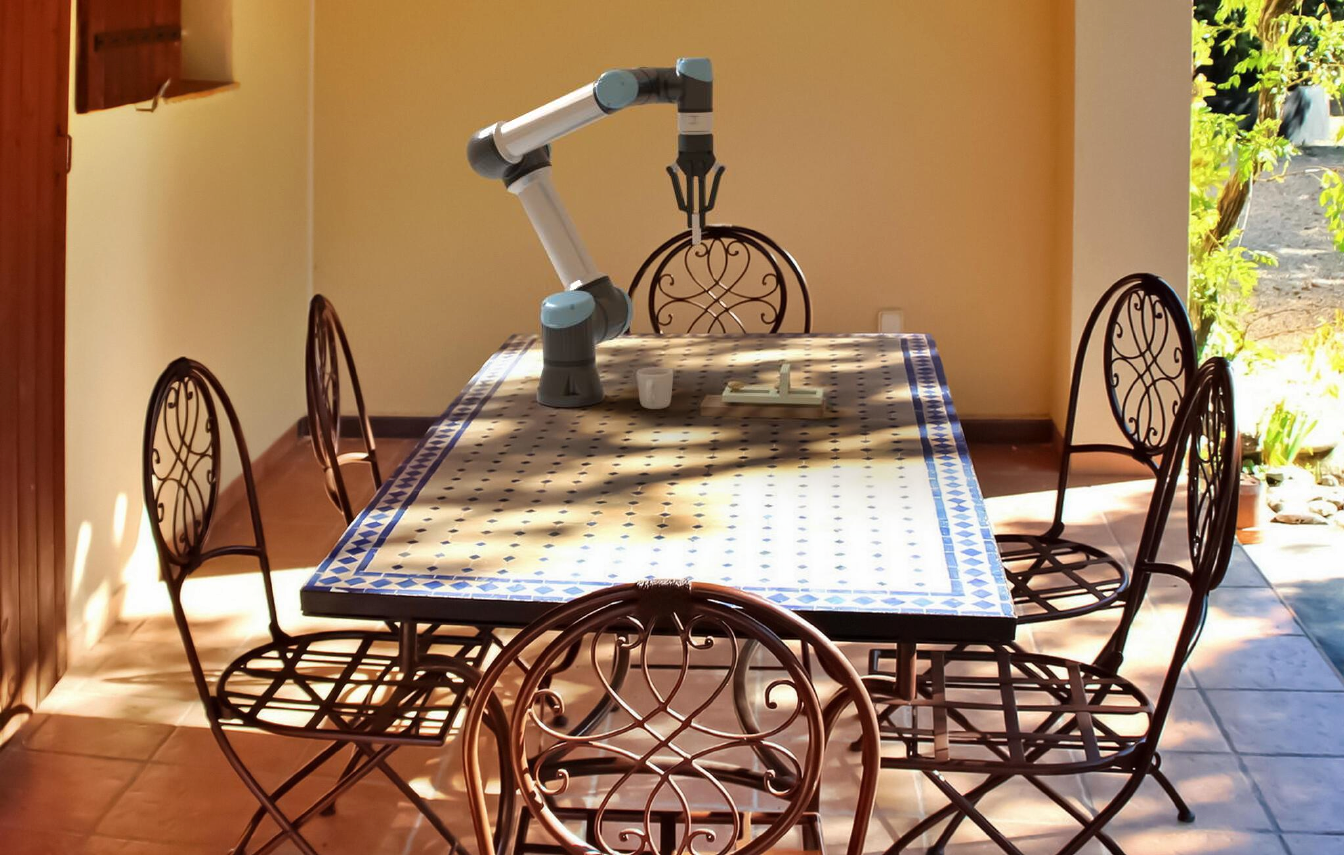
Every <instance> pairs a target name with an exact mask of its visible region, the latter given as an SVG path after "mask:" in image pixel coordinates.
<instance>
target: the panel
mask: <svg viewBox="0 0 1344 855" xmlns="http://www.w3.org/2000/svg"><path fill="white" fill-rule="evenodd" d="M778 378H779V382H778V383H779V390H778V389H775V388H774V386H744V387H743V388H740V393H734V392H732V388H728V385H726V386H725V388H724V390H723V392H722V394H721V395H722V402H756V403H795V404H821V403H822V399H823V398H824V393H825V392H824V391H825V390H824V388H822V387H821V388H820V387H817V388H815V387H814V388H813V387H790V389H788V383H790V384H791V364H790V363H782V366H781V368H780V370H779V377H778Z"/></svg>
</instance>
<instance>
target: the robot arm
mask: <svg viewBox="0 0 1344 855" xmlns="http://www.w3.org/2000/svg"><path fill="white" fill-rule="evenodd" d="M713 75H714V74H713V62H712V60H711V59H710V58H708V57H681V58H680V57H679V58H678V59H677V60H676V65H675V66H674V67H659V66H658V67H656V66H655V67H653V66H652V67H648V66H639V67H631V68H625V69H623V68H616V69H612V70H608V71H606V72H604V73H602V74H601V75H600V77H599V78H598V79H597V80H595V81H592V82H590V83H587V84H586V85H584V86H583V87H580V88H577V89H576V90H574V91H572V92H569V93H567V94H566V95H563V96H560V97H559V98H557V99H554V100H552V101H550V102H549V103H547V104H544V105H541V106H539V107H537V108H536V109H534V110H531V111H529V112H527V113H525V114H523V115H521V116H518V117H517V118H515V119H513V120H511V121H509V122H507V121H505V120H500V121H497V122H495V123H493V124H491V125H488V126H486V127H482V128H480V129H478V130H477V131H475V132H474V133H473V134H472V135H471V137H470V139H469V140H468V143H467V144H466V145H467V146H466V158H467V161H468V164H469V167H471V169H472V170H473V171H474V172H475V173H476V174H477V175H479V176H480V177H481V178H483V179H484V178H485V179H488V180H500V179H501V181H502V182H503V184H504V187H505V188H506V191H507V192H508V193H511V194H513V195H516V196H517V197H518V200H519V202H520V203H521V205H522V207H523V210H524V211H525V212H526V215H527V217H528V219H529V221H530V223H531V225H532V226H533V229H534V230H535V232H536V234H537V236H538V238H539V241H540V242H541V243H542V245H543V248H544V251H545V252H546V255H547V256H548V257H549V259H550V262H551V264H552V265H553V267H554V270H555V272H556V274H557V275H558V277H559V279H560V282H561V283H562V285H563V287H564V291H563V292H557V293H554V294H551V295H549V296H547V297H546V298H544V300H543V301H542V303H541V314H540V321H541V339H542V359H543V362H542V364H543V365H542V366H543V367H542V370H541V374H540V378H539V382H538V387H537V388H536V401H537V402H538V403H539V404H540V405H544V406H548V407H555V408H578V407H587V406H591V405H592V406H593V405H595V404H599V403H601V402H603V401H604V400H605V399H606V398H605V396H606V395H605V394H606V392H605V391H606V390H605V386H604V384H602V381H601V377H600V376H601V375H600V373H599V372H600V371H599V370H598V367H597V358H596V357H597V356H596V354H597V353H596V346H597V345H599V344H602V343H604V342H607V341H608V342H609V341H612V340H613V341H614V340H615V339H616V338H618V337H619V336H621V335H623V334H625V332H626V331H627V330H628V329H629V327H630V326H631V324H632V321H633V317H634V307H633V303H632V302H633V301H631V297H630V296H629V294H628V293H627V292H626V291H625V290H624V289H623V288H620V287H618V286H616V285H614V284H613V282H612V281H611V278H610V276H609V275H608V274H607V273H604V272H602V271H599V269H598V267H597V266H596V264H595V262H594V260H593V258H592V256H591V254H590V252H589V250H588V248H587V246H586V243H585V242H584V240H583V238H582V236H581V234H580V232H579V231H578V229H577V228H578V227H577V226H576V225H575V223H574V221H573V219H572V217H571V215H570V213H569V211H568V209H567V208H566V205H565V204H564V201H563V199H562V197H561V195H560V194H559V192H558V189H557V188H556V185H555V184H554V182H553V180H552V174H553V171H554V168H553V166H552V163H551V158H552V156H551V153H552V145H551V143H552V142H555V141H556V140H558V139H561V138H563V137H565V136H567V135H570V134H571V133H573V132H575V131H578V130H580V129H583V128H584V127H586V126H589V125H590V124H592V123H596V122H597V121H599V120H601V119H603V118H606V117H608V116H610V115H613V114H615V113H617V112H620V111H622V110H624V109H626V108H629V107H634V106H635V107H637V106H644V105H646V106H647V105H652V104H653V105H654V104H655V105H656V104H657V105H659V104H661V105H662V104H667V105H668V104H672V105H675V104H676V105H677V130H678V132H680V133H679V134H678V136H677V156H676V158H675V161H674V162H673V163H672V164H669V165H667V166H666V167H665V171H666V172H667V175H669V177H670V179H671V184H672V187H673V192H674V195H675V200H676V203H677V207H678V210H679V211H682V212H684V213H686V214H687V216H686V217H687V218H686V220H687V221H686V222H687V225H686V226H687V228H688V229H692V231H691V232H692V237H691V238H692V245H695V246H697V245H701V243H702V229H705V228H706V225H707V217H706V214H707V213H708V212H711V211H712V210H713V209H714V208H715V205H716V200H717V196H718V193H719V192H718V191H719V187H720V183H721V178H722V176H723V174H724V173H725V171H726V169H727V167H726V166H725V165H724V164H721V163H719V162H717V158H716V156H715V154H714V134H713V133H712V131H714V107H713V105H714V104H713V102H714V101H713V100H714V99H713V98H714V97H713V96H714V89H713V88H714V84H713V83H714V76H713ZM712 168H713V172H714V173H715V174H714V177H713V180H712V185H711V190H710V193H709V198H708V202H707V195H706V194H707V193H706V192H707V190H706V189H707V185H706V183H707V182H706V180H707V175H708V174H709V172H710V171H711V169H712ZM679 169H680V170H681V172H682V173H683V175H685V182H686V202H685V198H684V194H683V190H682V186H681V182H680V178H679V175H678V172H679ZM695 177H697V182H698V212H694V211H695V189H694V188H695V184H694V183H695Z"/></svg>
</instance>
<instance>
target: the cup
mask: <svg viewBox="0 0 1344 855" xmlns="http://www.w3.org/2000/svg"><path fill="white" fill-rule="evenodd" d="M636 381H637V388H638V398H639V403H640V405H641V406H642V408H645V409H649V410H660V409H665V408H667V407H669V406H670V404H671V401H672V393H673V391H672V389H673V381H674V371H673V369H671V368H669V367H663V366H662V367H661V366H651V367H650V366H649V367H643V368H640V369H638V370H637V371H636Z"/></svg>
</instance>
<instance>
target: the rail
mask: <svg viewBox="0 0 1344 855" xmlns="http://www.w3.org/2000/svg"><path fill="white" fill-rule="evenodd" d="M727 386H728V388H732V392H734V393H740V388H743V387H745V384H744V382H743V381H739V380H738V381H737V380H736V381H729V382H727ZM773 387H774V388H775V389H778V390H779V382H775V383H774V386H773ZM790 388H791V382H790V383H788V389H790ZM699 408H700V413H699V414H700V416H705V417H706V416H707V417H708V416H709V417H711V416H713V417H737V418H738V417H740V418H741V417H743V418H745V417H747V418H748V417H749V418H777V419H779V418H780V419H781V418H782V419H783V418H784V419H816V420H817V419H818V420H819V419H820V420H823V419H824V416H825V412H826V408H827V398H826V397H823V399H822V403H821V404H795V403H756V402H722V394H706V395H705V397H704V399H703V400H702V402H701V405H700V407H699Z"/></svg>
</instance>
